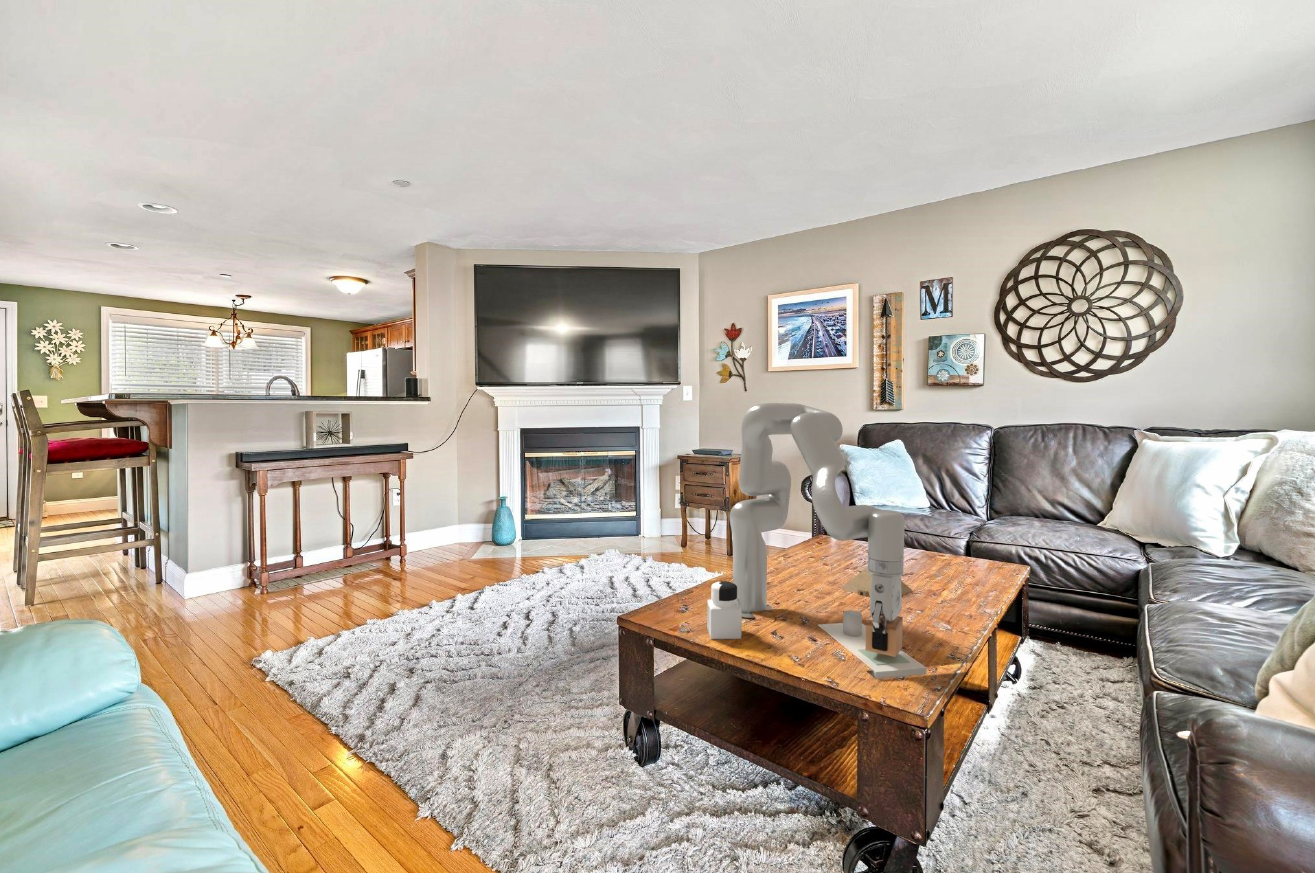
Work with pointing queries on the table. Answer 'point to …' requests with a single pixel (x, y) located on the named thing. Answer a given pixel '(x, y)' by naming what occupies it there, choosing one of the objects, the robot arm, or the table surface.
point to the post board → (881, 665)
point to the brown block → (893, 636)
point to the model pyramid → (867, 584)
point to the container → (724, 612)
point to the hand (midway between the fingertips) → (883, 643)
